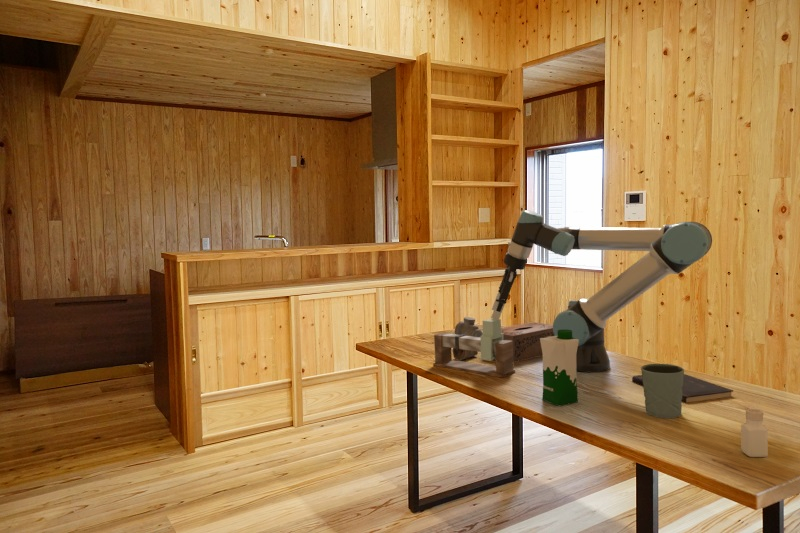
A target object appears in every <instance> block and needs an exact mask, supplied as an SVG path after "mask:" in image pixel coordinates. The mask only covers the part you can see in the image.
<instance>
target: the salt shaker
mask: <svg viewBox="0 0 800 533" xmlns="http://www.w3.org/2000/svg"><path fill="white" fill-rule="evenodd" d="M763 421H764V411H762V409H761V410H760V409H755V408H747V409H745V423H742V424H741V425H740V427H741V428H740V450H741V452H743V453H744V454H745V455H746V456H748V457H750V458H767V457H768V455H769V454H768V452H769V451H768V449H769V448H768V447H769V445H768V444H769V443H768V442H769V431H768V430H769V429H768V428H767V426H764V424H763Z"/></svg>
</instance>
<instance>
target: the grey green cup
mask: <svg viewBox="0 0 800 533" xmlns="http://www.w3.org/2000/svg"><path fill="white" fill-rule="evenodd" d="M640 370H641V375H642V380H643V385H644V386H643V396H644V406H645V413H646V414H647V415H650V416H652V417H655V418H661V419H677V418H679V417H681V416H682V408H683V406H682V404H683V403H682V401H681V400H682V392H683V390H682V386H683V377H684V374H685V369H684V368H683V367H681V366H679V365H675V364H669V363H649V364H644V365H642V366H641V368H640Z"/></svg>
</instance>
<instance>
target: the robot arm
mask: <svg viewBox="0 0 800 533" xmlns="http://www.w3.org/2000/svg"><path fill="white" fill-rule="evenodd" d="M543 220H544V217H543V215H542V214H539V213H538V212H535V211H532V210H523V211H522V212H521V213H520V215H519V217H518V219H517V221H516V226H515V228H514V231H513V235H512V237H511V240H510V242H508V243H507V245H508V248H507V252H506V253H505V255H504V258H503V261H502V262H503V264H505V265H506V268H505V269H504V272H503V276H502V279H501V282H500V285H499V286H498V290H497V294H496V297H495V299H494V302H493V305H492V307H491V310H492V314H491V316H490V319H500V318H501V315H502V313H503V310H504V308H505V305H506V304H507V302H508V300H509V299H508V298H509V295H510V293H511V289H512V287H513V285H514V282H515V280H516V278H517V275H518V273H517V272H518V271H517V270H519V271H521V270H524V269H525V268H526V265H527V263H528V259H529V258H530V255H531V252H532V250H533V246H534V245H536V246H539V247H541V248H543V249H545V250H547V251H550V252H552V253H554V254H555V255H559V256H562V257H566V256H568V255H569V254H570V252H571V251H572V250H578V251H579V250H586V251H590V250H591V251H623V252H624V251H630V252H647V253H646V254H644V255H643V256H642V257H641V258H639V259H638V260H637V261H636V262H634V263H633V264H632V265H630V266H629V267H628V268H626V269H625V270H624V271H623V272H621V273H620V274H619V275H617V276H616V277H615V278H614V279H612V280H611V281H610V282H608V283H607V284H606V285H604V286H603V287H602V288H600V289H599V290H598V291H597V292H595V293H594V294H593V295H591V296H590V297H589V298H585V297H584V298H583V297H581V298H580V299H579V300H569V301H568V305H567V309H565V310H564V311H561V312H559V313H558V314H557V315H556V317H555V318H554V320H553V323H552V325H553V332H554V335H555V336H558V330H572V337H573V338H576V339H578V340H579V343H578V348H577V353H576V372H585V373H588V372H589V373H595V372H603V371H608V370H609V369H610V368H611V360H610V358H609V354H608V352H607V350H606V346H605V328H606V325H607V320H609V319H610V318H612V317H613V316H614V315H616V314H617V313H619V312H620V311H621V310H623V309H624V308H625V307H627V305H628V306H629V304H631V303H632V302H634V301H635V300H636V299H637V298H639V297H640V296H642V295H643V294H644V293H646V292H647V291H649V290H650V289H651V288H652V287H654V286H655V285H657V283H659V282H660V281H662V280H664V279H665V278H666V277H667V276H669V275H672V274H673V275H679V274H681V273H682V272H683V271H685V270H686V269H687V268H689V267H690V266H692V265H693V264H695V263H696V262H698V261H699V260H701V259H702V258H704V256H706V254H708V252H710V249H711V247H712V246H713V245H712V244H713V237H712V234H711V232H710V230H709V228H707V227H706V226H705V225H704V224H702V223H701V222H700V223H699V222H697V221H681V222H678V223H674V224H673V223H672V224H663V225H662V226H661V227H573V226H565V227H558V228H556V227H555V226H551V225H549V224H546V223H545V222H544V221H543Z"/></svg>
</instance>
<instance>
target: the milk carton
mask: <svg viewBox="0 0 800 533" xmlns="http://www.w3.org/2000/svg"><path fill="white" fill-rule="evenodd" d="M540 342H541V348H542V354H543V356H542V401H545V402H548V403H550V404H552V405H554V406H556V407H561V406H566V405H570V404H576V403H579V398H578V385H577V372H578V371H576V353H577V348H578V343H579V340H578V339H576V338H573V337H572V330H558V336H552V337H547V338H540Z"/></svg>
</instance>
